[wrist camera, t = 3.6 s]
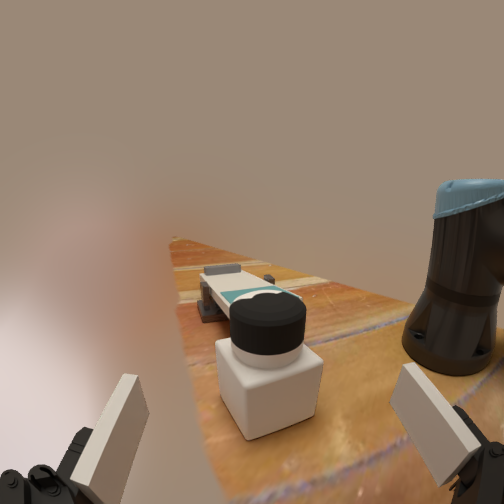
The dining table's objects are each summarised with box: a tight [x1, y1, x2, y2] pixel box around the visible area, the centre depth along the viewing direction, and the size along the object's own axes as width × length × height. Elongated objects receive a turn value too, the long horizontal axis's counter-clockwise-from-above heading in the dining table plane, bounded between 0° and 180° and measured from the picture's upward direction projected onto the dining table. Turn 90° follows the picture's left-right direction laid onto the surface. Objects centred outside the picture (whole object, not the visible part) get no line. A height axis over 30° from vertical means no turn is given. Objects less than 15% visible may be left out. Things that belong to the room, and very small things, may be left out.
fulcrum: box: [197, 274, 275, 323], centre depth 46 cm, size 6×13×5 cm, turn 108°
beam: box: [200, 264, 303, 319], centre depth 45 cm, size 28×9×3 cm, turn 18°
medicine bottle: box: [215, 290, 324, 440], centre depth 23 cm, size 7×7×12 cm
